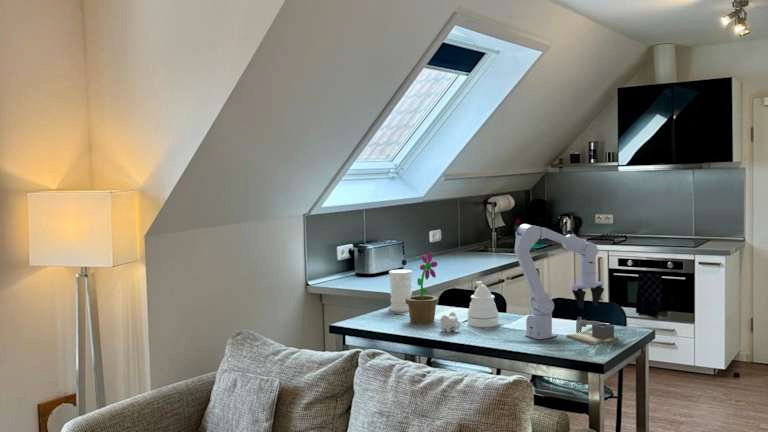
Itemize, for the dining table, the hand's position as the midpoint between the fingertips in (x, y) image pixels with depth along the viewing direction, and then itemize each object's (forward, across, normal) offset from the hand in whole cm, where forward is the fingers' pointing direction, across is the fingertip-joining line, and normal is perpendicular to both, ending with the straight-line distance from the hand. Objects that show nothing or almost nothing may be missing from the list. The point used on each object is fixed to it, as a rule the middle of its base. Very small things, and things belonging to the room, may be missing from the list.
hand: (588, 306), depth 289 cm
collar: (+9, -3, -11) cm, 15 cm away
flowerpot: (+11, -43, +55) cm, 71 cm away
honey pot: (+11, -24, +37) cm, 45 cm away
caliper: (+11, +6, +6) cm, 14 cm away
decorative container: (+11, -37, +84) cm, 92 cm away
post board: (+10, -5, -8) cm, 14 cm away
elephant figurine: (+11, -43, +33) cm, 55 cm away
